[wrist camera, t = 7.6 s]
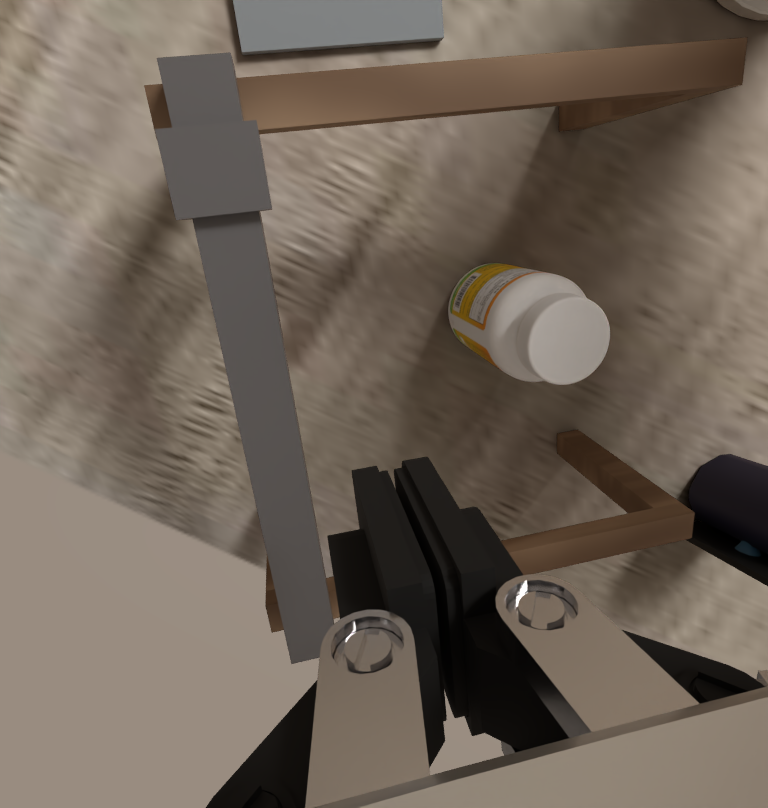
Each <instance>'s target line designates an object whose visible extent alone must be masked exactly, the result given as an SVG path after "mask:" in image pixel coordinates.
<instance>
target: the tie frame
mask: <svg viewBox="0 0 768 808" xmlns="http://www.w3.org/2000/svg"><path fill="white" fill-rule="evenodd" d="M747 38H748V37H745V38H733V39H720V40H708V41H695V42H682V43H670V44H657V45H645V46H632V47H620V48H607V49H595V50H582V51H570V52H557V53H545V54H532V55H519V56H507V57H494V58H482V59H469V60H457V61H444V62H432V63H419V64H407V65H394V66H381V67H369V68H356V69H344V70H331V71H319V72H306V73H294V74H281V75H269V76H256V77H244V78H236V79H237V85H238V90H239V96H240V101H241V107H242V112H243V118H244V121H250V120H257V125H258V130H259V134H267V133H278V132H288V131H299V130H310V129H320V128H331V127H341V126H352V125H362V124H373V123H383V122H394V121H404V120H415V119H426V118H436V117H447V116H457V115H468V114H478V113H489V112H499V111H510V110H520V109H531V108H542V107H552V106H559V132H560V131H570V130H579V129H586V128H589V127H593V126H596V125H600V124H604V123H607V122H611V121H614V120H618V119H621V118H625V117H629V116H632V115H636V114H639V113H643V112H646V111H650V110H654V109H657V108H661V107H664V106H668V105H671V104H675V103H678V102H682V101H686V100H689V99H693V98H696V97H700V96H703V95H707V94H711V93H714V92H718V91H721V90H725V89H728V88H732V87H735V86H739V85H742V82H743V73H744V65H745V56H746V47H747ZM144 87H145V91H146V95H147V100H148V104H149V108H150V113H151V117H152V121H153V125H154V130H155V129H162V128H172V124H171V120H170V115H169V111H168V106H167V102H166V97H165V93H164V88H163V84H156V85H144ZM155 134H156V132H155ZM156 138H157V136H156ZM557 454H559V455H560V456H561V457H562V458H563V459H565V460H566V461H567V462H568V463H569V464H570V465H572V466H573V467H574V468H575V469H576V470H578V471H579V472H580V473H581V474H582V475H583V476H585V477H586V478H587V479H588V480H589V481H591V482H592V483H593V484H594V485H595V486H597V487H598V488H599V489H600V490H601V491H602V492H604V493H605V494H606V495H607V496H608V497H610V498H611V499H612V500H613V501H614V502H615V503H617V504H618V505H619V506H620V507H621V508H623V509H624V510H625V511H626V512H627V513H628V514H624V515H619V516H614V517H610V518H605V519H600V520H596V521H591V522H586V523H582V524H577V525H572V526H568V527H563V528H558V529H554V530H549V531H544V532H539V533H535V534H530V535H525V536H521V537H516V538H511V539H507V540H502V541H501V542H502V544H503V545H504V547H505V548H506V550H507V551H508V553H509V554H510V556H511V557H512V558H513V560H514V561H515V563H516V564H517V566H518V567H519V569H520V570H521V572H522V573H523V575H528V574H534V573H539V572H543V571H548V570H552V569H557V568H561V567H566V566H570V565H574V564H579V563H583V562H588V561H592V560H597V559H601V558H606V557H610V556H614V555H619V554H623V553H628V552H632V551H637V550H641V549H646V548H650V547H654V546H659V545H663V544H668V543H672V542H677V541H681V540H686V539H690V538H692V532H693V523H694V514H695V512H693V511H692V510H690V509H689V508H688V507H686V506H685V505H683V504H682V503H681V502H679V501H678V500H676V499H675V498H674V497H672V496H671V495H669V494H668V493H666V492H665V491H664V490H662V489H661V488H659V487H658V486H657V485H655V484H654V483H652V482H651V481H650V480H648V479H647V478H645V477H644V476H642V475H641V474H640V473H638V472H637V471H635V470H634V469H633V468H631V467H630V466H628V465H627V464H626V463H624V462H623V461H621V460H620V459H618V458H617V457H616V456H614V455H613V454H611V453H610V452H609V451H607V450H606V449H604V448H603V447H601V446H600V445H599V444H597V443H596V442H594V441H593V440H592V439H590V438H589V437H587V436H586V435H585V434H583V433H582V432H580V431H579V430H573V431H567V432H562V433H557ZM326 581H327V586H328V592H329V597H330V603H331V609H332V614H333V619H334V618H339V617H340V615H339V608H338V602H337V595H336V589H335V582H334V577H329V578H326ZM266 610H267V614H268V618H269V622H270V627H271V631H272V632H277V631H281V630H284V628H283V623H282V619H281V614H280V610H279V605H278V601H277V596H276V592H275V587H274V583H273V578H272V574H271V569H270V565H269V560H268V556H267V569H266Z"/></svg>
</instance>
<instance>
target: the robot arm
mask: <svg viewBox="0 0 768 808" xmlns="http://www.w3.org/2000/svg"><path fill="white" fill-rule="evenodd" d="M717 1H718V2H719V3H720V4H721V5H722V6H723V7H725V8H726V9H728V10H730V11H732V12H733V13H735V14H737V15H739V16H742V17H745V18H749V19H753V20H757V21H759V20H768V0H717ZM352 478H353V485H354V492H355V499H356V506H357V513H358V520H359V527H360V529H359V530H354V531H349V532H344V533H339V534H334V535H329V536H328V543H329V549H330V556H331V562H332V569H333V575H334V582H335V589H336V595H337V602H338V608H339V615H340V620H339V621H338V622H336V623H335V624H334V625H333V626H331V628H330V629H329V630H328V632H327V633H326V635H325V636H324V638H323V642H322V645H321V649H320V659H319V669H318V680H317V681H316V682H315V683H314V684H313V685H312V687H311V688H310V689H309V690H308V691H307V692H306V693H305V694H304V696H303V697H302V698H301V699H300V700H299V701H298V702H297V703H296V705H295V706H294V707H293V708H292V709H291V710H290V711H289V712H288V714H287V715H286V716H285V717H284V718H283V719H282V720H281V722H280V723H279V724H278V725H277V726H276V727H275V728H274V729H273V730H272V732H271V733H270V734H269V735H268V736H267V737H266V738H265V739H264V741H263V742H262V743H261V744H260V745H259V746H258V747H257V749H256V750H255V751H254V752H253V753H252V754H251V755H250V756H249V758H248V759H247V760H246V761H245V762H244V763H243V764H242V765H241V766H240V768H239V769H238V770H237V771H236V772H235V773H234V774H233V775H232V777H231V778H230V779H229V780H228V781H227V782H226V784H224V786H223V787H222V788H221V789H220V790H219V791H218V792H217V793H216V795H215V796H214V797H213V798H212V800H211V801H210V802H209V804H208V805H207V807H206V808H768V670H764V671H758V674H757V679H754V678H752V677H751V676H749V675H748V674H746V673H745V672H743V671H740V670H738V669H736V668H733V667H731V666H729V665H726V664H723V663H720V662H717V661H714V660H711V659H708V658H705V657H702V656H699V655H696V654H693V653H690V652H687V651H684V650H681V649H678V648H675V647H672V646H669V645H666V644H663V643H660V642H657V641H654V640H651V639H648V638H645V637H642V636H639V635H636V634H633V633H630V632H627V631H624V630H621V629H620V628H619V627H618V626H617V625H616V624H615V623H613V622H612V621H611V620H610V619H609V618H608V617H607V616H606V615H605V614H604V613H603V612H602V611H601V610H600V609H599V608H598V607H596V606H595V605H594V604H593V603H592V602H591V601H590V600H589V599H588V598H587V597H586V596H585V595H584V594H583V593H582V592H581V591H579V590H578V589H577V588H576V587H574V586H573V585H571V584H570V583H569V582H566V581H564V580H562V579H559V578H557V577H553V576H548V575H543V574H528V575H523V573H522V572H521V570H520V569H519V567H518V566H517V564H516V563H515V561H514V560H513V558H512V557H511V556H510V554H509V553H508V551H507V550H506V548H505V547H504V545H503V544H502V542H501V541H500V539H499V538H498V536H497V535H496V533H495V532H494V530H493V529H492V528H491V526H490V525H489V523H488V522H487V520H486V519H485V517H484V516H483V514H482V513H481V511H480V510H479V509H478V508H477V507H470V508H465V509H459V507H458V505H457V504H456V502H455V501H454V499H453V497H452V496H451V494H450V492H449V491H448V489H447V488H446V486H445V484H444V483H443V481H442V479H441V478H440V476H439V475H438V473H437V471H436V470H435V468H434V466H433V465H432V463H431V461H430V460H429V458H428V457H422V458H417V459H411V460H406V461H402V468H398V469H394V478H395V486H396V490H395V487H394V485H393V482H392V480H391V478H390V475H389V473H388V471H381V472H379V470H378V468H377V466H373V467H367V468H362V469H356V470H352ZM444 690H445V692H446V696H447V698H448V701H449V704H450V707H451V710H452V712H453V715H454V717H455V718H458V717H462V716H465V718H466V721H467V724H468V727H469V729H470V732H471V735H472V736H475V735H478V734H482V733H486V734H488V735H490V736H492V737H494V738H496V739H498V740H500V741H501V743H502V744H501V745H502V751H503V753H504V756H501V757H498V758H494V759H490V760H486V761H482V762H479V763H475V764H472V765H468V766H464V767H460V768H456V769H453V770H449V771H445V772H442V773H438V774H435V775H430V771H429V768H430V766H431V764H432V763H433V761H434V759H435V757H436V756H437V754H438V752H439V750H440V749H441V747H442V745H443V743H444V742H445V735H444V725H443V721H446V706H445V696H444Z"/></svg>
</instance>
